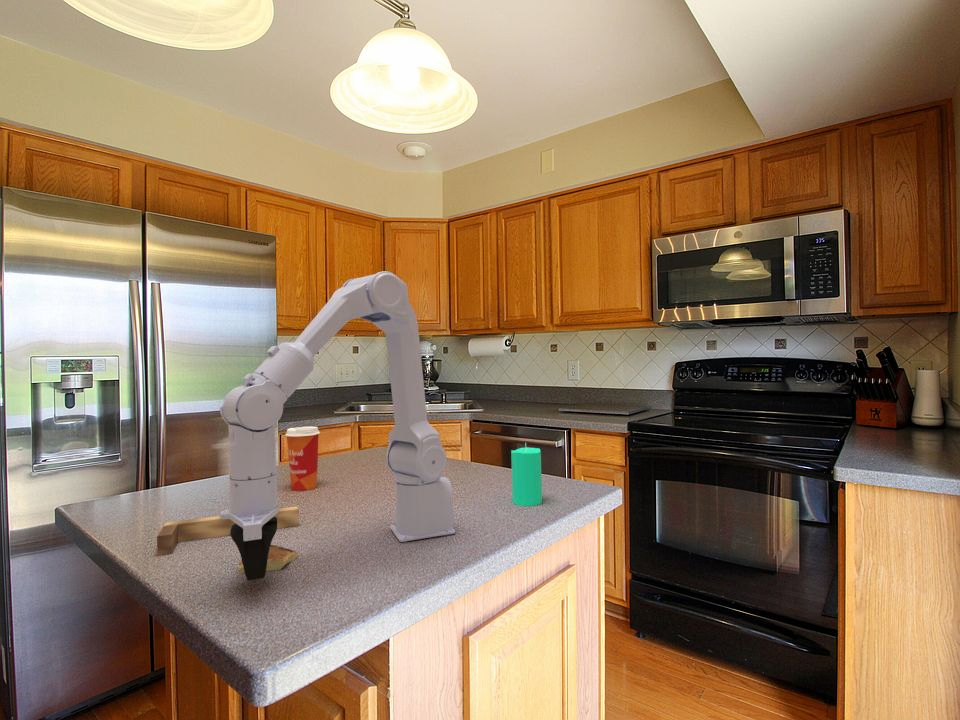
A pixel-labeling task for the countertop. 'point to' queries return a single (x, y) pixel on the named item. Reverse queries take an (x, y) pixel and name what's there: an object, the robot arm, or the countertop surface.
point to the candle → (526, 476)
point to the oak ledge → (211, 529)
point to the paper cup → (303, 457)
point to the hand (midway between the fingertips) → (255, 577)
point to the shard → (275, 558)
